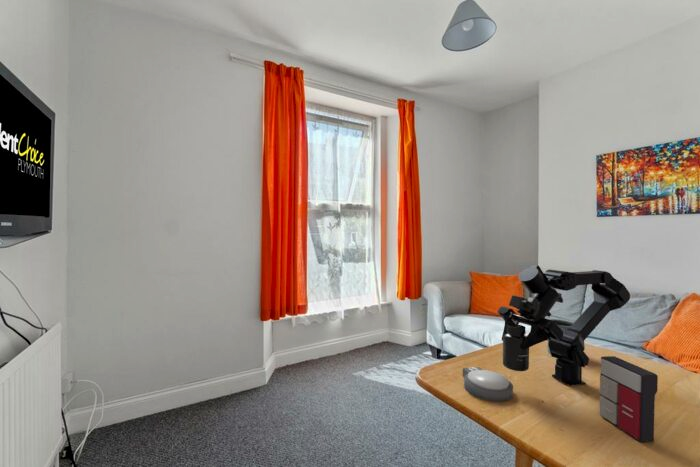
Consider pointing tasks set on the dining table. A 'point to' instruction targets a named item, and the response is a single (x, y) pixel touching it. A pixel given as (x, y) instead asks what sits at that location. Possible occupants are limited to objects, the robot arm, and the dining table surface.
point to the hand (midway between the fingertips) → (512, 344)
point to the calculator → (628, 397)
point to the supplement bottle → (515, 348)
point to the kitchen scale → (487, 385)
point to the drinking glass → (561, 326)
